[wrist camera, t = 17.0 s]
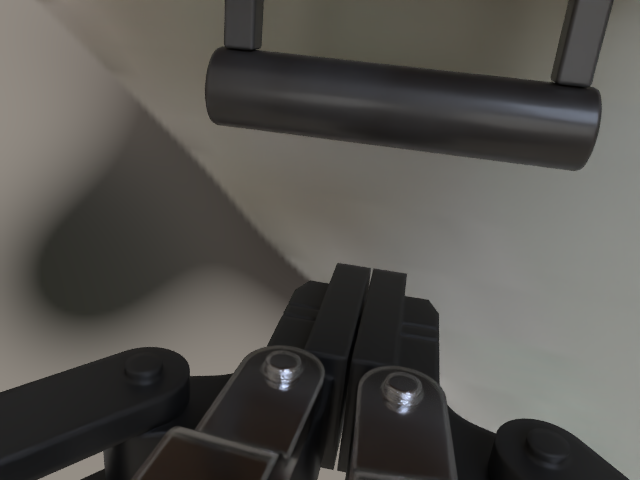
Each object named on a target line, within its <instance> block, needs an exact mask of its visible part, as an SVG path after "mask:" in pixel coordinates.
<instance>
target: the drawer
mask: <svg viewBox="0 0 640 480" xmlns="http://www.w3.org/2000/svg"><path fill="white" fill-rule="evenodd" d="M613 1H614V0H569V2H568V6H567V10H566V14H565V19H564V23H563V27H562V31H561V36H560V40H559V44H558V48H557V52H556V57H555V61H554V65H553V69H552V74H551V80H552V81H554V82H555V83H553V82H544V81H535V80H526V79H517V78H508V77H498V76H489V75H480V74H471V73H462V72H453V71H443V70H434V69H425V68H416V67H407V66H398V65H389V64H379V63H370V62H361V61H352V60H343V59H334V58H325V57H315V56H306V55H297V54H288V53H279V52H270V51H261V50H256V49H260V48H261V46H262V25H263V3H264V0H225V21H224V45H225V47H220V48H217V49H216V50H215V51H214V53H213V54H212V57H211V59H210V62H209V65H208V69H207V74H206V82H205V100H206V108H207V112H208V115H209V118H210V119H211V121H212V122H213V123H215V124H217V125H222V126H230V127H238V128H246V129H253V130H261V131H269V132H276V133H284V134H292V135H300V136H307V137H315V138H323V139H331V140H338V141H346V142H354V143H362V144H369V145H377V146H385V147H393V148H400V149H408V150H416V151H424V152H431V153H439V154H447V155H455V156H462V157H470V158H478V159H485V160H493V161H501V162H509V163H516V164H524V165H532V166H540V167H547V168H555V169H563V170H571V171H576V170H580V169H582V168H583V167H584V165H585V164H586V162H587V161H588V159H589V157H590V155H591V153H592V151H593V148H594V146H595V143H596V140H597V136H598V132H599V127H600V122H601V113H602V103H601V95H600V92H599V90H598V89H596V88H594V87H590V85H591V84H592V81H593V77H594V73H595V69H596V65H597V62H598V58H599V54H600V50H601V47H602V43H603V39H604V35H605V31H606V28H607V24H608V20H609V16H610V13H611V9H612V5H613Z"/></svg>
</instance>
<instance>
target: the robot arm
mask: <svg viewBox="0 0 640 480" xmlns="http://www.w3.org/2000/svg"><path fill="white" fill-rule="evenodd" d="M370 272H371V268H367V267H361V266H355V265H348V264H342V263H337V265H336V268H335V270H334V273H333V276H332V278H331V281H330V283H329V284H328V283H322V282H316V281H309V282H307V283H305V284H304V285H302V286H301V287H299V288H298V289H296V290H295V291H294V293H293V295H292V297H291V299H290V301H289V304H288V305H287V307H286V309H285V311H284V314H283V316H282V317H281V319H280V321H279V323H278V325H277V327H276V329H275V331H274V333H273V335H272V337H271V339H270V341H269V343H268V345H267V347H264V348H260V349H258V350H255V351H253V352H251V353H250V354H248V355H247V356H246V357H245V358H244V359H243V360H242V362H241V363H240V365H239V366H238V368H237V369H236V370H235V372H234V373H232V374H227V375H218V376H190V369H189V365H188V362H187V361H186V360H185V358H183V357H182V356H181V355H180V354H178V353H176V352H174V351H171V350H169V349H164V348H158V347H143V348H136V349H131V350H127V351H124V352H121V353H118V354H115V355H112V356H109V357H106V358H103V359H100V360H97V361H94V362H91V363H88V364H85V365H82V366H79V367H76V368H73V369H70V370H67V371H64V372H61V373H58V374H55V375H52V376H49V377H45V378H43V379H39V380H37V381H33V382H30V383H27V384H24V385H21V386H19V387H15V388H12V389H9V390H6V391H3V392H0V480H38V479H40V478H42V477H44V476H47V475H49V474H51V473H53V472H56V471H58V470H60V469H63V468H65V467H67V466H69V465H72V464H74V463H77V462H79V461H81V460H83V459H86V458H88V457H90V456H92V455H95V454H97V453H99V452H102V451H103V452H104V465H105V469H103V470H101V471H99V472H96V473H94V474H92V475H90V476H88V477H85V478H83V479H81V480H317V479H318V474H319V470H320V467H322V468H327V469H332V470H333V469H334V465H335V460H336V456H337V451H338V447H339V442H340V438H341V433H342V438H341V445H340V453H339V461H338V469H337V470H338V471H342V472H346V478H345V480H629V479H628V478H627V477H625V476H624V475H623V474H622V473H621V472H619V471H618V470H617V469H616V468H614V467H613V466H612V465H611V464H609V463H608V462H607V461H606V460H604V459H603V458H602V457H601V456H599V455H598V454H597V453H596V452H594V451H593V450H592V449H591V448H590V447H588V446H587V445H586V444H585V443H583V442H582V441H581V440H580V439H578V438H577V437H576V436H574V435H573V434H571V433H570V432H568V431H566V430H564V429H562V428H560V427H558V426H556V425H553V424H551V423H548V422H544V421H540V420H535V419H515V420H511V421H508V422H506V423H504V424H503V425H502V426H500V428H499V429H498V430H497V433H493V432H491V431H488V430H486V429H484V428H481V427H479V426H477V425H475V424H472V423H470V422H468V421H467V420H465V419H463V418H462V417H460V416H459V415H458V414H456V413H455V412H454V411H453V410H452V409H451V408H450V407H449V406H448V405H447V401H446V396H445V393H444V391H443V389H442V388H441V387H440V383H439V313H438V312H437V311H436V309H435V308H434V307H433V305H432V304H431V303H430V301H429V300H426V299H420V298H414V297H407V296H405V287H406V278H407V274H406V273H399V272H393V271H387V270H380V269H373V272H372V277H371V281H370ZM369 281H370V285H369ZM368 288H369V289H368ZM342 429H343V430H342Z"/></svg>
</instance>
